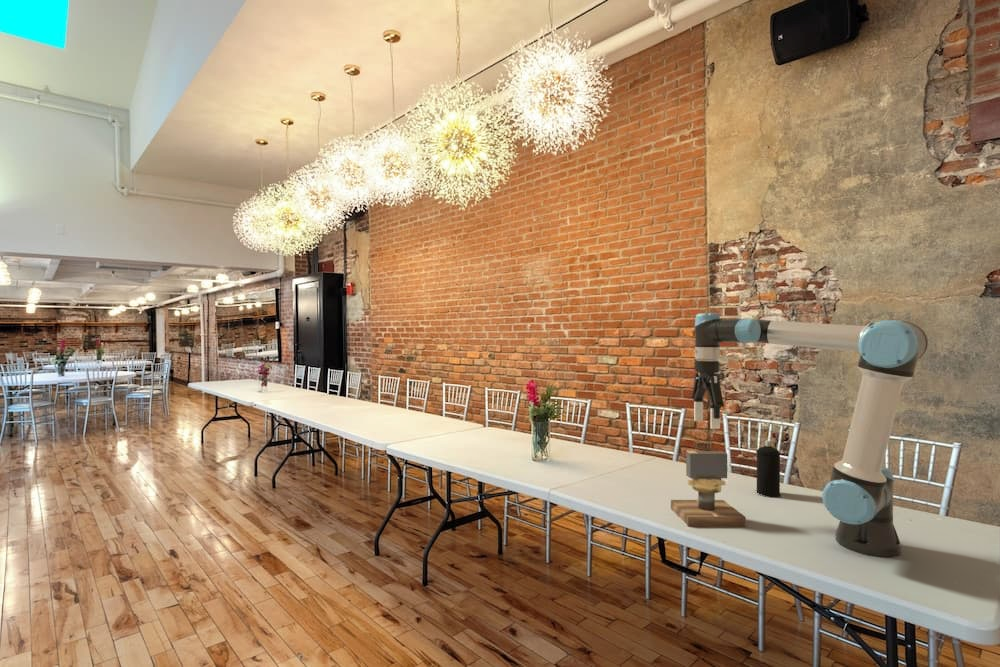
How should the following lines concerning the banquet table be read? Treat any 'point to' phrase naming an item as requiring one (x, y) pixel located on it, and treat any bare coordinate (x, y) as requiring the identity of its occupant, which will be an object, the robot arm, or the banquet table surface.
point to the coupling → (706, 470)
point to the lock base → (707, 511)
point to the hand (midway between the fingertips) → (706, 424)
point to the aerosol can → (768, 470)
